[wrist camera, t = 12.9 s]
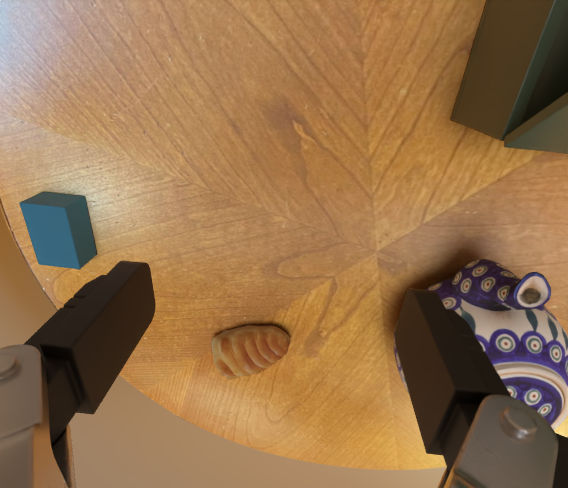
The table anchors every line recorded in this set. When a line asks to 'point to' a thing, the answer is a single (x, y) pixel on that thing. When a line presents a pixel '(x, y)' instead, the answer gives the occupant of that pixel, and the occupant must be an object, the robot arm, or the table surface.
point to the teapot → (513, 332)
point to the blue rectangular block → (59, 229)
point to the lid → (543, 130)
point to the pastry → (248, 349)
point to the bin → (514, 65)
